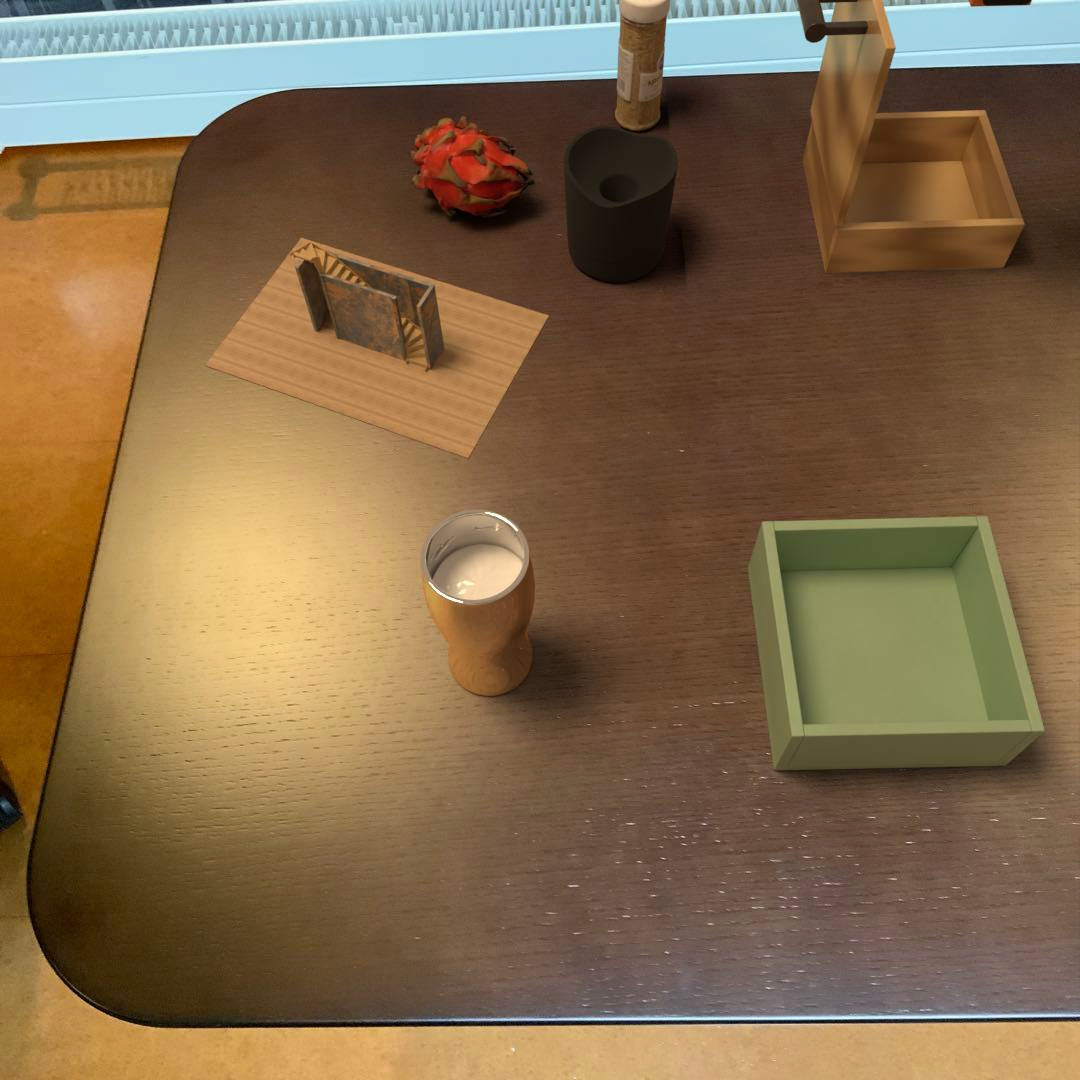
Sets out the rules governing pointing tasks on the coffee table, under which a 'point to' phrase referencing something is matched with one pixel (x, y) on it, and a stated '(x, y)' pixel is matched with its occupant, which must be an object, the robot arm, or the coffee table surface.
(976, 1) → the block
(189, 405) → the coffee table surface
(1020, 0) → the robot arm
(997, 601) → the open box
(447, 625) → the beer glass
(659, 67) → the spice jar
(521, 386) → the coffee table surface
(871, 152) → the chest
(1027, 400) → the coffee table surface
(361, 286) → the architectural model on board
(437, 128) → the dragon fruit
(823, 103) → the lid
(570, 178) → the pen holder
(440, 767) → the coffee table surface
